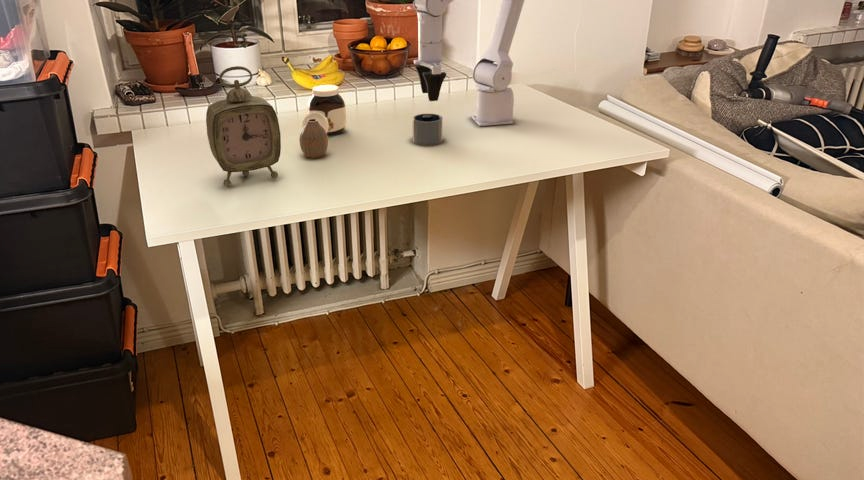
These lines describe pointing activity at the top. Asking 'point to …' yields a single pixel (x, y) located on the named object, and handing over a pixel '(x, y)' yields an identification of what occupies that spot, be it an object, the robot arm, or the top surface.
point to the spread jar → (327, 109)
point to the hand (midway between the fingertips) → (429, 96)
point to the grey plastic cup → (427, 130)
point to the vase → (313, 139)
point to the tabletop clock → (243, 131)
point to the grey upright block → (427, 118)
